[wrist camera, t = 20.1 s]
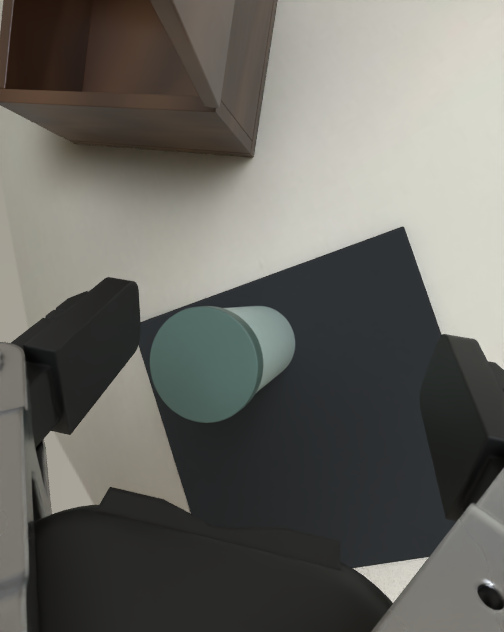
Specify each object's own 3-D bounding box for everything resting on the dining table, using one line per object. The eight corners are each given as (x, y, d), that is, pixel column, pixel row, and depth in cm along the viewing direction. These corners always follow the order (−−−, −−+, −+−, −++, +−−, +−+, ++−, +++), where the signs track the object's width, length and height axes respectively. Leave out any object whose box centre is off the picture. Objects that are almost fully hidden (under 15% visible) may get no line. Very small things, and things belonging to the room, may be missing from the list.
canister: (236, 390, 29) (169, 435, 20) (212, 318, 29) (135, 327, 20) (308, 368, 28) (274, 405, 18) (282, 292, 28) (235, 289, 18)
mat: (216, 584, 31) (214, 589, 30) (135, 324, 32) (132, 325, 31) (511, 540, 25) (514, 544, 25) (403, 227, 26) (403, 226, 26)
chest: (74, 143, 33) (-7, 101, 26) (94, -28, 31) (15, -122, 24) (253, 157, 29) (215, 112, 22) (283, -38, 28) (253, -153, 21)
